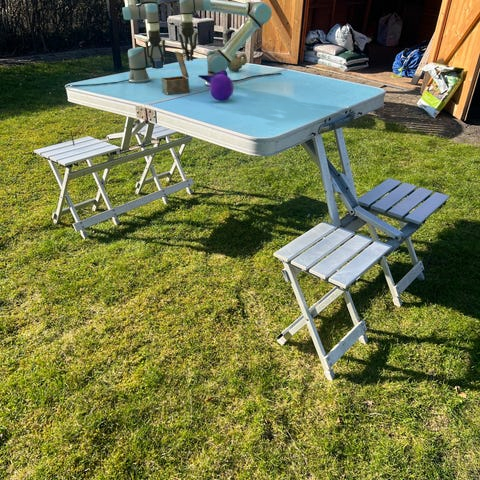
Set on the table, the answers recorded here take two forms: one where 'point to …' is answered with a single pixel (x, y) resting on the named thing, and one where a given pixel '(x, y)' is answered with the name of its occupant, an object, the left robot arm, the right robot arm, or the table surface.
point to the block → (157, 64)
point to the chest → (175, 85)
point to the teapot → (237, 62)
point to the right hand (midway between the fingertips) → (189, 60)
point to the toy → (219, 85)
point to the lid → (182, 62)
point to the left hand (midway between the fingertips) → (157, 67)
